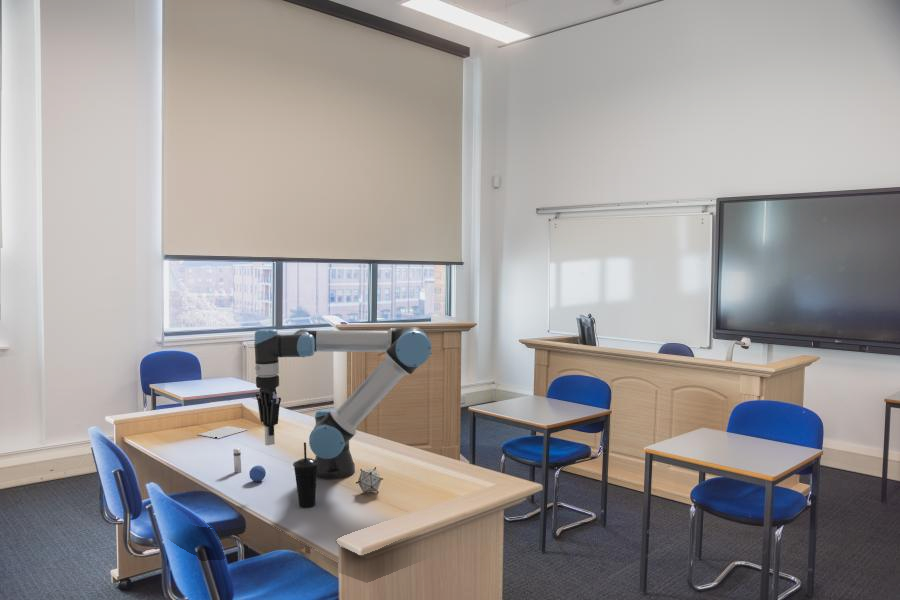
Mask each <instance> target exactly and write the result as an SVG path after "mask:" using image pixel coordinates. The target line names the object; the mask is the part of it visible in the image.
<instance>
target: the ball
mask: <svg viewBox="0 0 900 600" xmlns="http://www.w3.org/2000/svg"><path fill="white" fill-rule="evenodd" d="M266 474H267V472H266V469H265V467H263V466H262V465H253V467H252V468H251V469H250V470H249V478H250V480H252V482H256V483H258V482H262V481H263V480H264V479H265V477H266Z"/></svg>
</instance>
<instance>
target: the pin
mask: <svg viewBox="0 0 900 600" xmlns="http://www.w3.org/2000/svg"><path fill="white" fill-rule="evenodd" d="M241 455H242V452H241V448H240V447H237V448H236V447H235V448H234V449H233V468H234V469H233V471H234V473H235V472H236V473H235V474H238V473H239V472H240V473H242V456H241Z"/></svg>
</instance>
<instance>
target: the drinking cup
mask: <svg viewBox="0 0 900 600" xmlns="http://www.w3.org/2000/svg"><path fill="white" fill-rule="evenodd" d="M303 453H304V454H303V457H304V458H300V459H298V460H296V461H295V462H293V464H292V465H293V468H294V475H295V482H296V489H297V491H296V492H297V497H298V499H297V500H298V504H299V508H301V509H311V508H312V507H313V508H314V506H315V505H316V491H317V464H318V461H317V460H315V458H310V457H307V443H306V442H303Z"/></svg>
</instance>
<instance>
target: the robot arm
mask: <svg viewBox="0 0 900 600" xmlns="http://www.w3.org/2000/svg"><path fill="white" fill-rule="evenodd" d="M253 345H254V355H255V356H254V359H255V360H254V361H255V367H254V369H255V375H256V377H255V386H256V388H257V389H259V393H255V397H256V400H257V407H258V414H259V420H260V423H263V424H262V425H263V426H264V442H265V443H264V445H265V446H271V445H275V444H276V443H275V426H276V425H278V424H279V418H280V416H279V415H280V405H281V402H282V398H281V397H279V396H277V394H278V393H277V389H276V388H278V387H279V386H280V376H279V373H280V365H279V358H306V357H307V358H308V357H312V356H313V355H314V354H315V352H317V353H318V352H324V353H325V352H328V353H329V352H338V353H341V352H343V353H345V352H347V353H348V352H350V353H353V352H355V353H385V357H384V359H383V360H382V361H381V362H380V364H379V365H378V366H377V367H376V368H375V369H374V370H373V371H372V372H371V373H370V374H369V375H368V376H367V378H366V379H364V380H363V381H362V383H361V384H360V385H359V386H358V387H357V389H355V390H354V392H353V393H352V394H350V396H349V397H348V398H347V399H346V400H345V401H344V402H343V403H342V404H341V405H340V407H338V408H328V409H326V408H325V409H321V410H317V411H316V412H315V414H314V415H315V417H314V420H315V425H314V427H313V429H312V431H311V432H310V434H309V437H308V439H309V440H308V443H309V448H310V450H311V452H312V453H313V454H314V455H315V458H314V460H317V461H318V464H317V477H316V479H320V480H337V479H343V478H347V477H350V476H351V475H353V474H355V472H356V465H355V463H354V460H353V456H352V453H351V451H350V441H351V439H352V438H354V436H355V435H356V434H357V426H358V425H359V424H360V423H361V422H362V421H363V420H364V419H365V418H366V417H367V415H369V413H371V412H372V410H373V409H374V408H375V407H376V406H377V405H378V404H379V403H380V402H381V401H382V399H384V398H385V397H386V396H387V394H388V393H389V392H390V391H391V390H392V389H393V388H394V386H395V385H396V384H398V382H399V381H400V380H401V379H402V378H403V377H404V376H411V375H412V374H413V373H414V372H415V371H416V370H417V369H418V368H419V366H422V365H423V364H425V363H426V362H427V360H428V359H429V358H430V356H431V353H432V343H431V339H430V337H429V335H428V334H427V332H426V331H425V330H424V329H422V328H421V327H417V326H408V327H406V326H405V327H393V328H392V327H391V328H389V329H388V330H309V329H306V328H305V329H299V330H297V331H295V332H294V333H293V334H279V332H278V330H277V329H276V328H262V329H257V330H256V331H255V333H254V344H253Z"/></svg>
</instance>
